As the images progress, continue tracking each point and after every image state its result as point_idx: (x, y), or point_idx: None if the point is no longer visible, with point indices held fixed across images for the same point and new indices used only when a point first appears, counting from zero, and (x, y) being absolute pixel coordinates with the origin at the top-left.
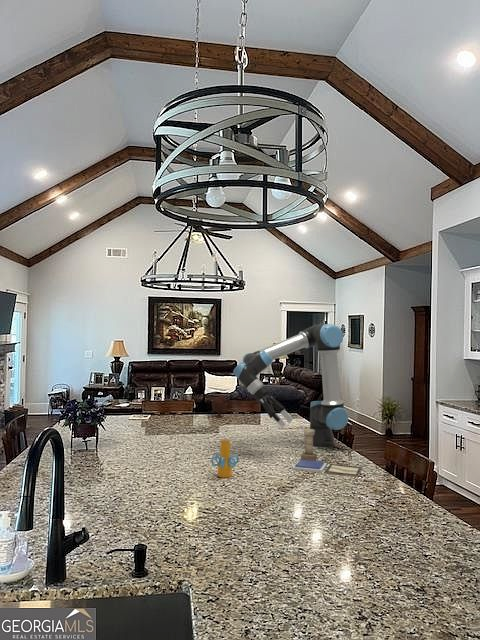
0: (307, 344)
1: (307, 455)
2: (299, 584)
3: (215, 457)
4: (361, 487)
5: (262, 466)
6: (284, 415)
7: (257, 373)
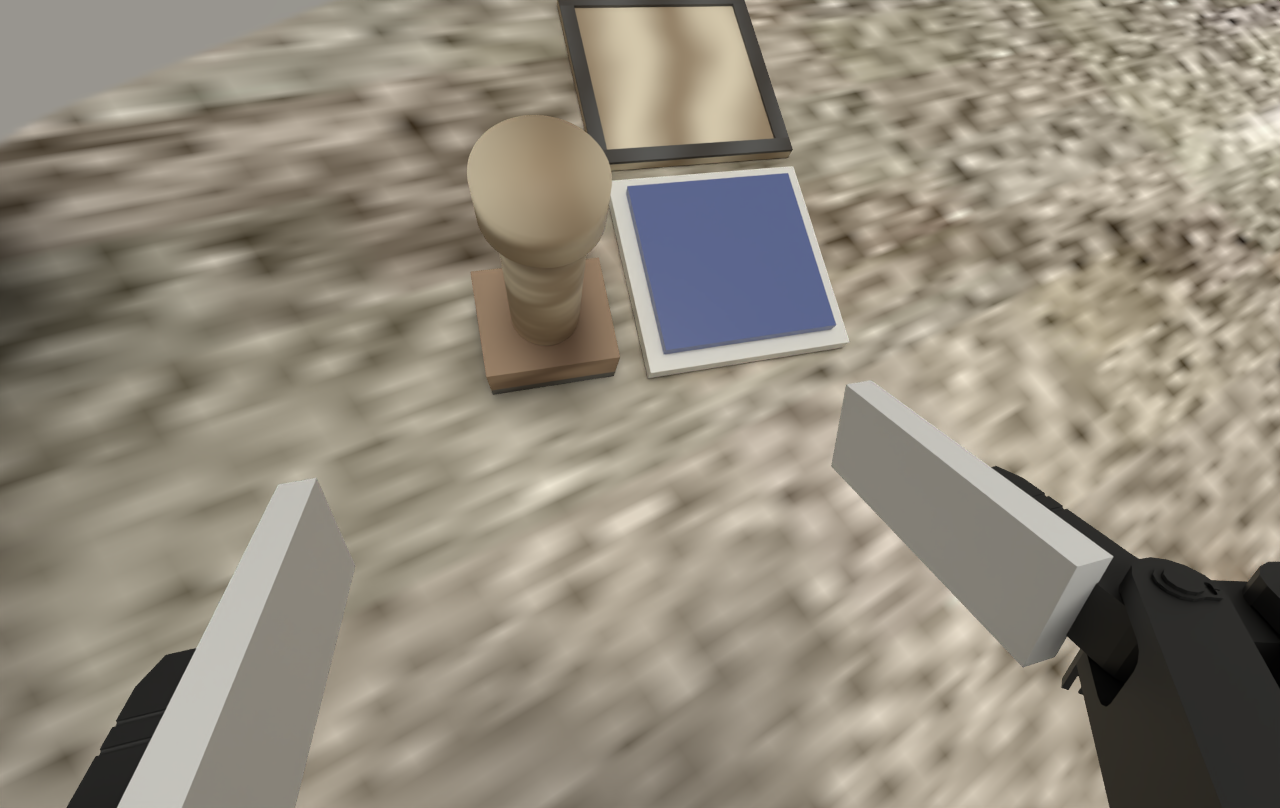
0: None
1: (606, 306)
2: None
3: None
4: None
5: (912, 559)
6: (292, 711)
7: None
